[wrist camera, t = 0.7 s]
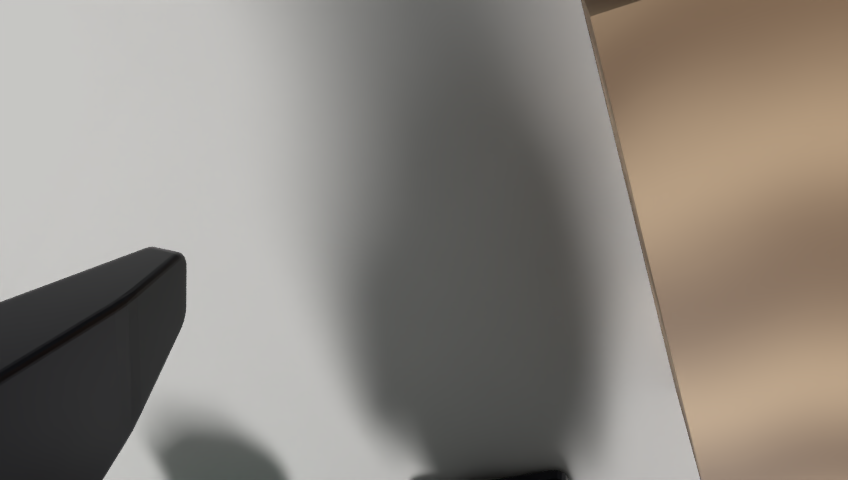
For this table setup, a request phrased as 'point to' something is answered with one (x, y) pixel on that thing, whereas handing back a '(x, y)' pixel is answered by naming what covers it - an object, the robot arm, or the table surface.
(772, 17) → the walnut plate
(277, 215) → the table surface
